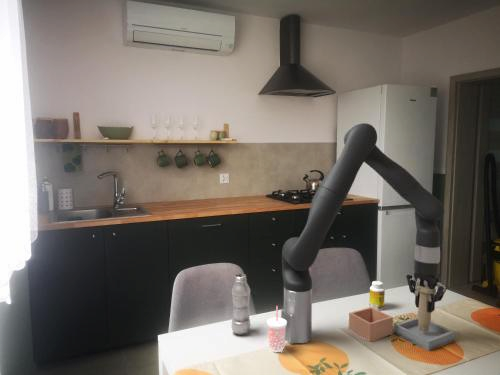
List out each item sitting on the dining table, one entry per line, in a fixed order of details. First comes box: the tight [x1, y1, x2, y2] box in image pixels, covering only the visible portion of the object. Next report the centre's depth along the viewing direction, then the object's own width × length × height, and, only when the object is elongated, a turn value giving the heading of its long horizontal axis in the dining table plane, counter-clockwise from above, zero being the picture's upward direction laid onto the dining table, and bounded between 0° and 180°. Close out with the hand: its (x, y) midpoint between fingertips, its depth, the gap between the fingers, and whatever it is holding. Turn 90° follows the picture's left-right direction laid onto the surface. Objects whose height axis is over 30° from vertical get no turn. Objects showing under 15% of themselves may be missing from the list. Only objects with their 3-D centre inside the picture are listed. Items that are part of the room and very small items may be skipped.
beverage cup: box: [266, 305, 287, 352], centre depth 115 cm, size 6×6×14 cm
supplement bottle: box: [368, 280, 386, 311], centre depth 145 cm, size 6×6×10 cm
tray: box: [393, 316, 456, 352], centre depth 123 cm, size 13×13×3 cm
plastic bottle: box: [231, 273, 252, 335], centre depth 125 cm, size 6×7×20 cm
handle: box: [417, 286, 437, 332], centre depth 122 cm, size 5×6×15 cm
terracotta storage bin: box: [348, 306, 394, 343], centre depth 126 cm, size 11×10×6 cm
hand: (424, 309), depth 122 cm, fingers closed on handle, 3 cm apart
